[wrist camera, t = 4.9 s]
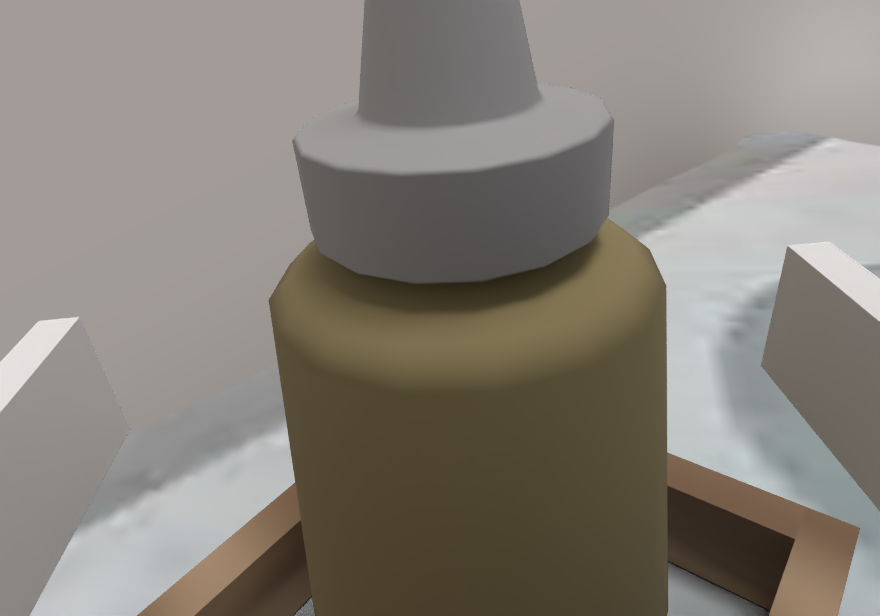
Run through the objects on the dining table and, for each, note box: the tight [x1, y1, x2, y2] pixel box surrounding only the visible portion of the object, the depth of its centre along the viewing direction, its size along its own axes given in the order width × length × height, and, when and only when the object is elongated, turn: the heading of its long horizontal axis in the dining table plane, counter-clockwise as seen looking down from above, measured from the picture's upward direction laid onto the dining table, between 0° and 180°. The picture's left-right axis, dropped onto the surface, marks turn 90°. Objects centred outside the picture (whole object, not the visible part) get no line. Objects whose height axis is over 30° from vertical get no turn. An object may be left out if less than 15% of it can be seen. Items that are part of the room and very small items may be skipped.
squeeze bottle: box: [269, 0, 668, 616], centre depth 12 cm, size 8×8×18 cm
